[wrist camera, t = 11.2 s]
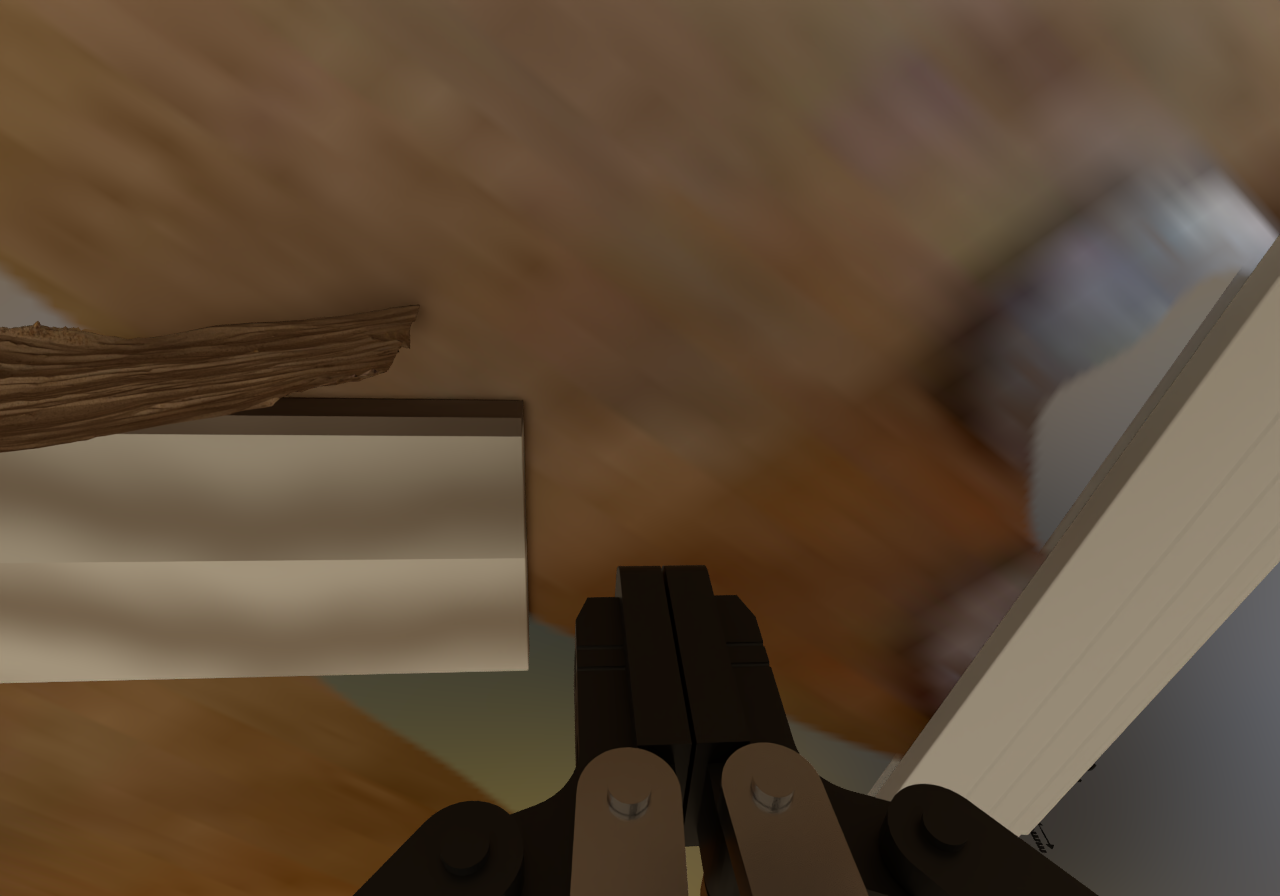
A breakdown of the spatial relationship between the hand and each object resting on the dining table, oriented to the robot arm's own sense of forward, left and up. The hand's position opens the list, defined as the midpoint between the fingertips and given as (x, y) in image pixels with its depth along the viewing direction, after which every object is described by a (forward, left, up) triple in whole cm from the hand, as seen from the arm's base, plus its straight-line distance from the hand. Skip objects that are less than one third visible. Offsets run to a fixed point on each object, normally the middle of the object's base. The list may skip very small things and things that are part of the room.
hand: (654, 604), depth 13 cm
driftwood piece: (-1, -13, -10) cm, 17 cm away
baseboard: (+9, +20, -11) cm, 24 cm away
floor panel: (+6, -13, -10) cm, 17 cm away
